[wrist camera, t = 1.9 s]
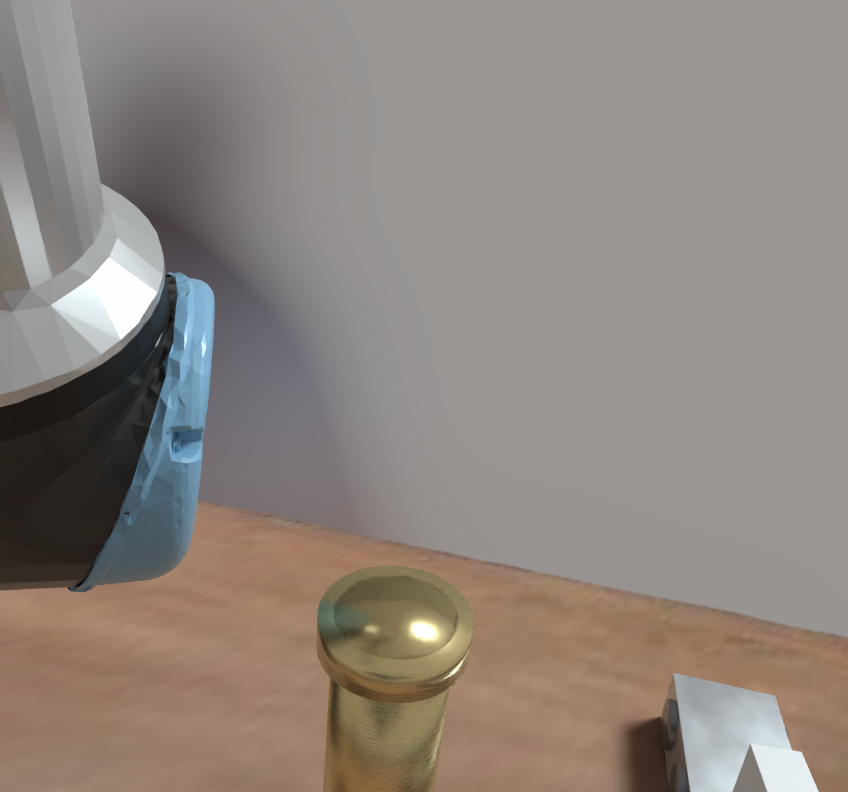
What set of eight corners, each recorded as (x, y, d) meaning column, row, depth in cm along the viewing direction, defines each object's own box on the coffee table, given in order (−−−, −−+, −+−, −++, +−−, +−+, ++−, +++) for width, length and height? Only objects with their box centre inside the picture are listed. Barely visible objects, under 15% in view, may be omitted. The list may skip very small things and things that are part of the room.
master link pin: (286, 863, 30) (296, 584, 24) (396, 817, 32) (428, 553, 26) (331, 991, 26) (354, 692, 20) (453, 928, 28) (504, 645, 22)
